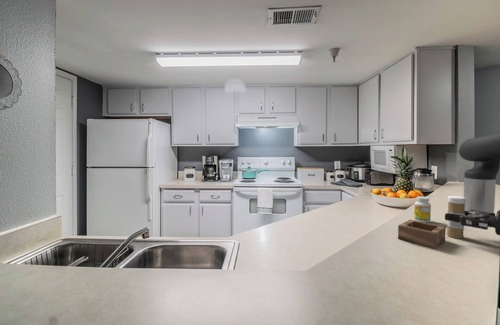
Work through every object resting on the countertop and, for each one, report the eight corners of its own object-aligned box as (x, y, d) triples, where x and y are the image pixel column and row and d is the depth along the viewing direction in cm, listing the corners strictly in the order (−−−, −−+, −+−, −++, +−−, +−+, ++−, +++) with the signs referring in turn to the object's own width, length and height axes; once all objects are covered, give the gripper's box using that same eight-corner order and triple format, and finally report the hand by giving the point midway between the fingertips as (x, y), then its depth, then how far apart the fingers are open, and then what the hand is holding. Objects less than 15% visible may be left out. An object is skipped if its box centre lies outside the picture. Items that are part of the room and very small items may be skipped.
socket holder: (409, 232, 86) (410, 219, 85) (445, 240, 78) (445, 226, 78) (397, 238, 80) (398, 225, 79) (435, 248, 72) (435, 233, 71)
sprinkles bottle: (448, 233, 85) (449, 194, 84) (465, 236, 81) (467, 196, 80) (444, 236, 82) (446, 196, 81) (462, 240, 78) (464, 198, 77)
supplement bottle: (432, 223, 95) (433, 199, 95) (416, 222, 97) (417, 198, 97) (427, 219, 101) (428, 196, 100) (412, 218, 102) (413, 195, 102)
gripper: (523, 209, 74) (454, 200, 87) (518, 217, 65) (442, 206, 78) (521, 233, 74) (454, 221, 87) (516, 245, 65) (441, 229, 78)
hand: (448, 214), depth 82 cm, fingers open, 8 cm apart
